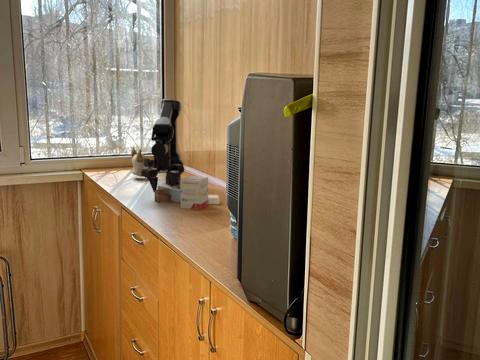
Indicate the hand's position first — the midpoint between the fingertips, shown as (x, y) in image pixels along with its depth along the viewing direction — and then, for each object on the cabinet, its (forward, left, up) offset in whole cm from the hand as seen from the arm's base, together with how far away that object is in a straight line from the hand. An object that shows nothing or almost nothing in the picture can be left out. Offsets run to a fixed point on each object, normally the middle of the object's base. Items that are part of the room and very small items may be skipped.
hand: (163, 190), depth 204 cm
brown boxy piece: (0, +4, -3) cm, 5 cm away
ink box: (0, +19, -3) cm, 20 cm away
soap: (-8, +18, -4) cm, 20 cm away
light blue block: (0, +4, -3) cm, 5 cm away
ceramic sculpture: (-18, -39, -3) cm, 43 cm away
